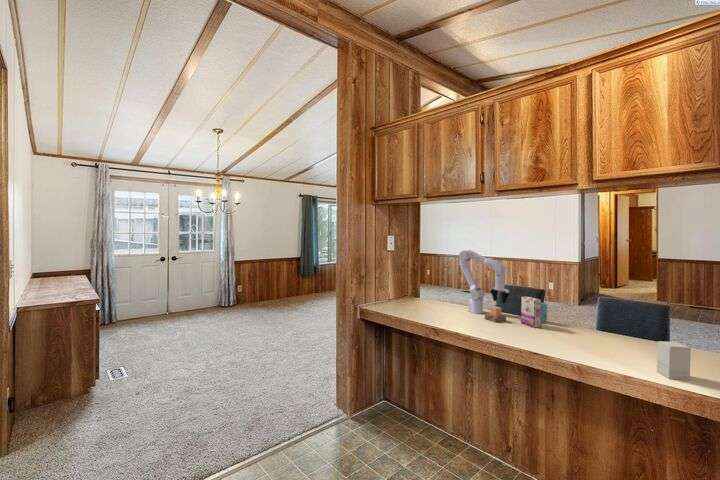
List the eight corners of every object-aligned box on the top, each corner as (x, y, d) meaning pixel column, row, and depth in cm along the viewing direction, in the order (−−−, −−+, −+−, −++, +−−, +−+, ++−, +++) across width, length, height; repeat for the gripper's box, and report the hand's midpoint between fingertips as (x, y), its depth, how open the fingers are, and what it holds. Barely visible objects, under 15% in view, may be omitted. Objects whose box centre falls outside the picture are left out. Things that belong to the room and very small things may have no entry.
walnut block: (484, 319, 224) (484, 314, 224) (495, 318, 228) (495, 313, 228) (495, 323, 216) (495, 317, 216) (506, 321, 220) (506, 316, 220)
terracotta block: (490, 314, 223) (490, 307, 223) (495, 314, 225) (495, 306, 225) (496, 316, 219) (496, 308, 219) (501, 315, 221) (501, 307, 221)
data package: (547, 322, 217) (547, 303, 216) (543, 323, 214) (543, 304, 214) (528, 318, 226) (528, 300, 226) (524, 319, 224) (524, 300, 223)
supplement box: (690, 380, 133) (691, 347, 133) (668, 379, 135) (669, 346, 134) (676, 372, 141) (677, 341, 140) (655, 371, 142) (656, 340, 142)
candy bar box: (541, 327, 206) (541, 299, 205) (534, 328, 204) (534, 300, 204) (527, 322, 216) (527, 296, 216) (520, 323, 215) (520, 296, 215)
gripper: (487, 280, 237) (486, 300, 237) (503, 283, 223) (503, 304, 224) (495, 279, 239) (495, 299, 240) (511, 282, 226) (511, 303, 226)
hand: (499, 302), depth 232 cm, fingers open, 7 cm apart
